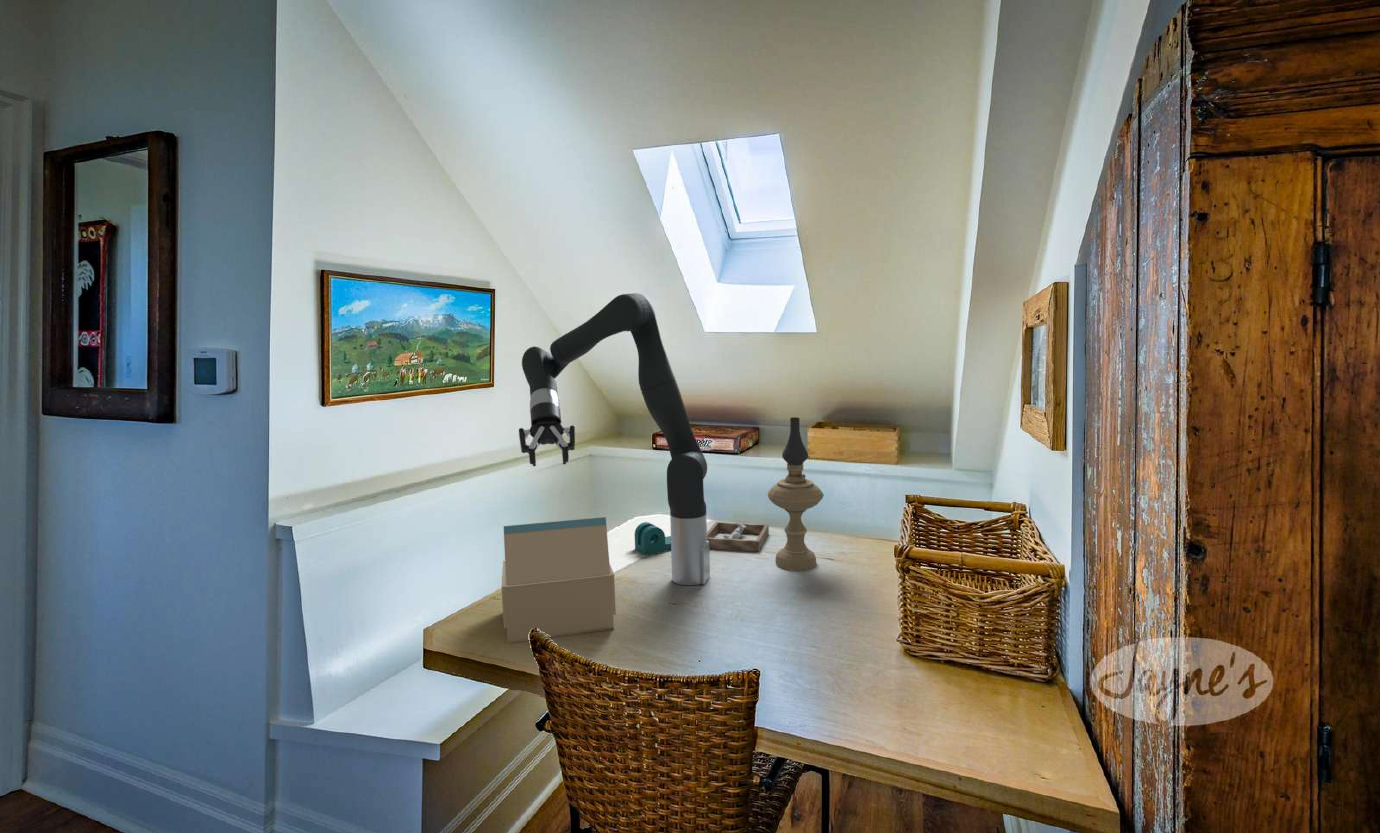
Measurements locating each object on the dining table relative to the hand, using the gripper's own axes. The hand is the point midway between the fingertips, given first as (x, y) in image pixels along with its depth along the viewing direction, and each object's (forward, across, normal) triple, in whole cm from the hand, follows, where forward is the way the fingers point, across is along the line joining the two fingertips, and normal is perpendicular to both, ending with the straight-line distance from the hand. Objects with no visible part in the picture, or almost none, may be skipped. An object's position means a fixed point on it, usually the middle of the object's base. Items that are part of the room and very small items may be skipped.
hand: (549, 463), depth 162 cm
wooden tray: (+5, +56, +41) cm, 70 cm away
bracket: (+4, +34, +42) cm, 55 cm away
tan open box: (+35, 0, +11) cm, 36 cm away
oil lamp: (+22, +65, +24) cm, 72 cm away
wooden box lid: (+27, 0, -7) cm, 28 cm away
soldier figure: (+4, +55, +42) cm, 69 cm away
